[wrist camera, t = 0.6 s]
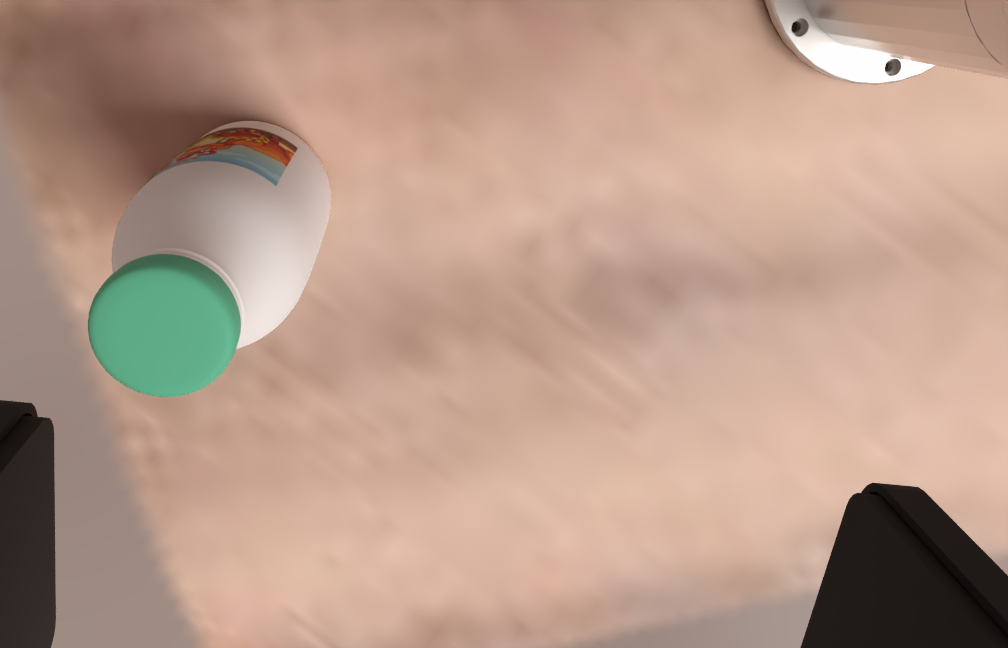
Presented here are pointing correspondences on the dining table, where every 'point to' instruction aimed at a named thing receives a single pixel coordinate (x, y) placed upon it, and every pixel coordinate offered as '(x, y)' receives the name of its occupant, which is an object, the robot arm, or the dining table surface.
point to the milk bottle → (209, 257)
